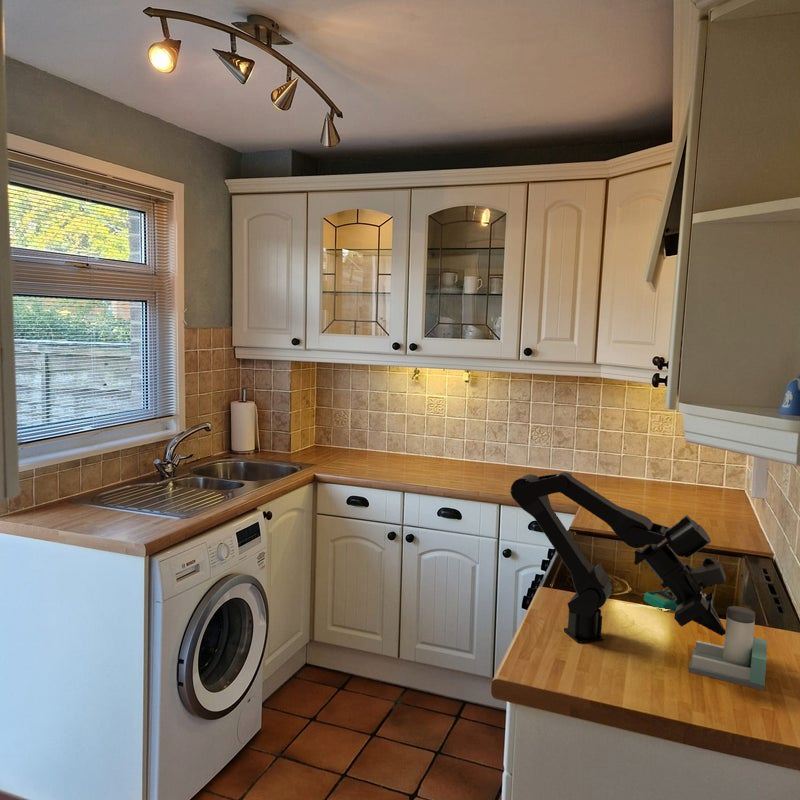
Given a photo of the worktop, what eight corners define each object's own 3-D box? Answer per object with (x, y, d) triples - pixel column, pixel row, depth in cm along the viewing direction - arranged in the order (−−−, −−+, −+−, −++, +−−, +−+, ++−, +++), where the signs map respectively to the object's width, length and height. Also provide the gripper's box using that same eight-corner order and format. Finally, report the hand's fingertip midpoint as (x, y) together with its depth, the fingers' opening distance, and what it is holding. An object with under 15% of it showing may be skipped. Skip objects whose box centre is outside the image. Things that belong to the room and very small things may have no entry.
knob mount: (688, 671, 134) (690, 642, 133) (693, 652, 143) (695, 624, 142) (764, 690, 128) (766, 660, 127) (764, 668, 136) (766, 640, 136)
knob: (721, 668, 133) (726, 612, 132) (723, 657, 138) (727, 604, 137) (750, 674, 131) (755, 618, 130) (750, 664, 135) (755, 609, 134)
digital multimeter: (709, 606, 169) (710, 595, 169) (663, 613, 164) (664, 602, 163) (686, 595, 176) (687, 585, 176) (642, 602, 170) (642, 591, 170)
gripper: (698, 560, 128) (758, 631, 124) (706, 536, 144) (759, 598, 140) (651, 591, 132) (707, 660, 128) (664, 564, 149) (714, 625, 144)
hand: (724, 634), depth 135 cm, fingers closed, pressing on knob
